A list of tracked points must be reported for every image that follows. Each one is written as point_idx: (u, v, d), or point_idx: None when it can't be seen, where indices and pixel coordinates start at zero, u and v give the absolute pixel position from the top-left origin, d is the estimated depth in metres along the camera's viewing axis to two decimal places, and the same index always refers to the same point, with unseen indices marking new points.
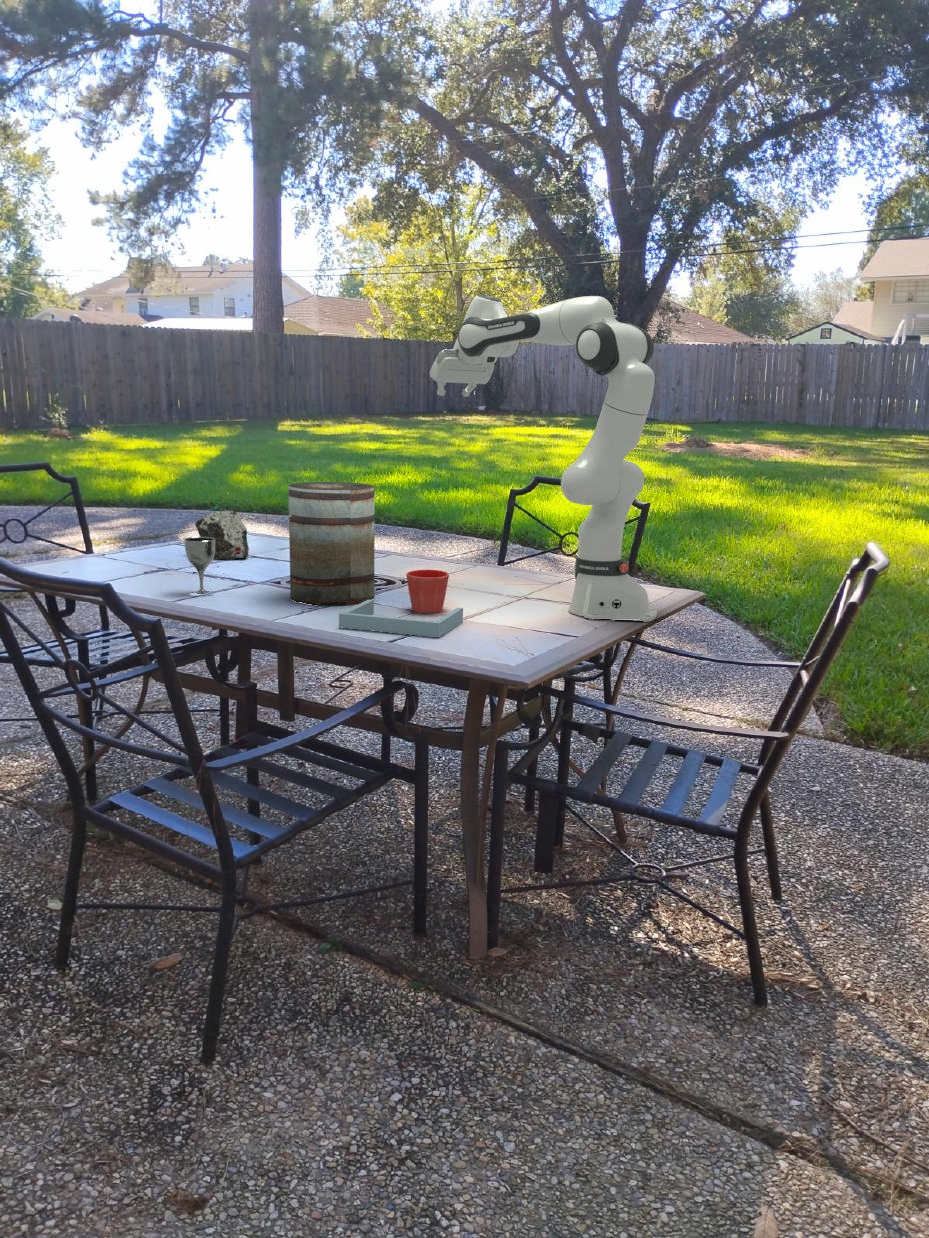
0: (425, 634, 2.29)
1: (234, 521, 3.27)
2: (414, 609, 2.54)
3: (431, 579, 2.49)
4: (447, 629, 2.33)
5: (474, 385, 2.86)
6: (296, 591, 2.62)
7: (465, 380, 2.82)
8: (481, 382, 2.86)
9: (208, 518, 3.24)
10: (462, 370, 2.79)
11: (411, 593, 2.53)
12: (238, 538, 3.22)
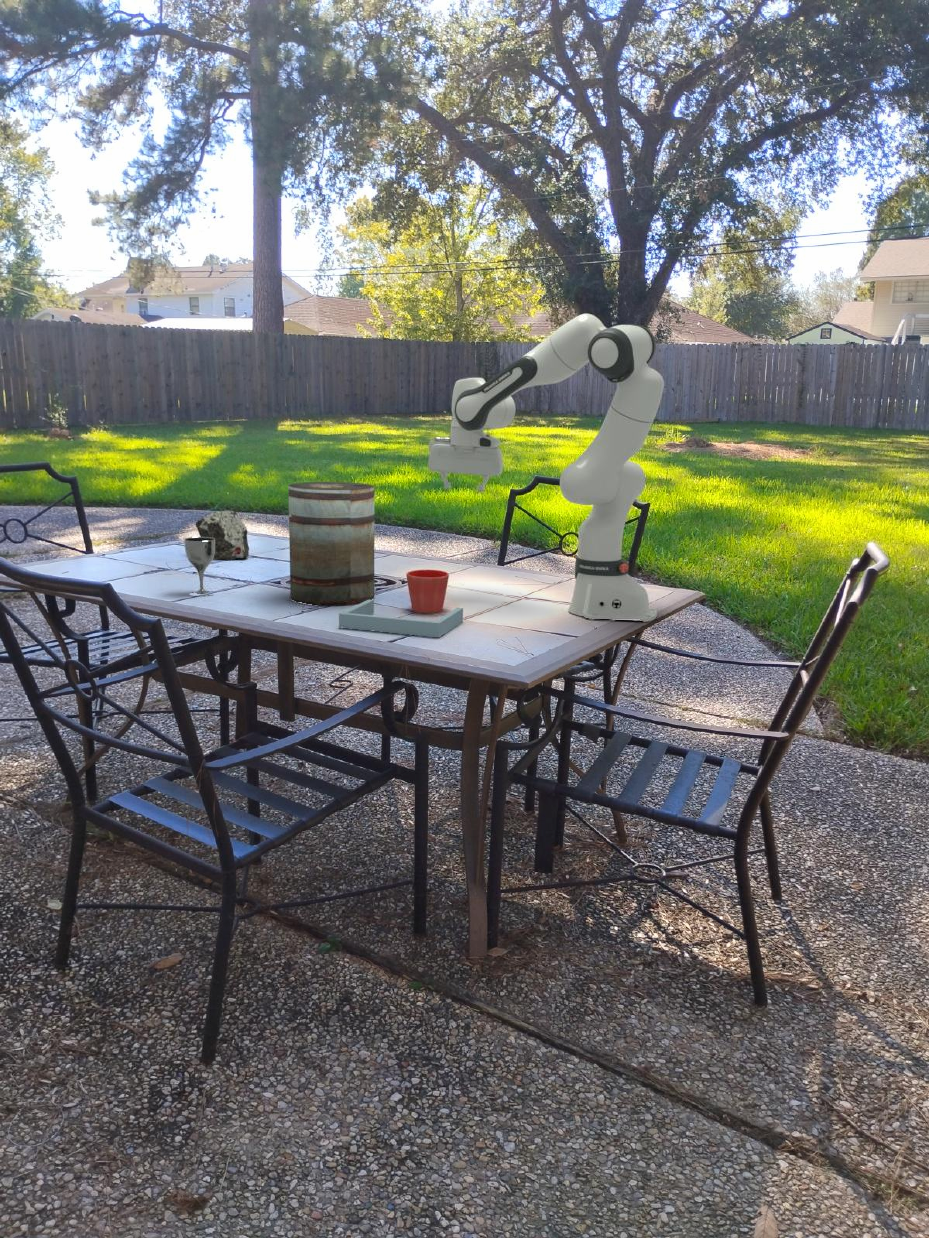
0: (425, 634, 2.29)
1: (234, 521, 3.27)
2: (414, 609, 2.54)
3: (431, 579, 2.49)
4: (447, 629, 2.33)
5: (484, 477, 2.68)
6: (296, 591, 2.62)
7: (466, 470, 2.68)
8: (489, 473, 2.67)
9: (208, 518, 3.24)
10: (459, 458, 2.68)
11: (411, 593, 2.53)
12: (238, 538, 3.22)
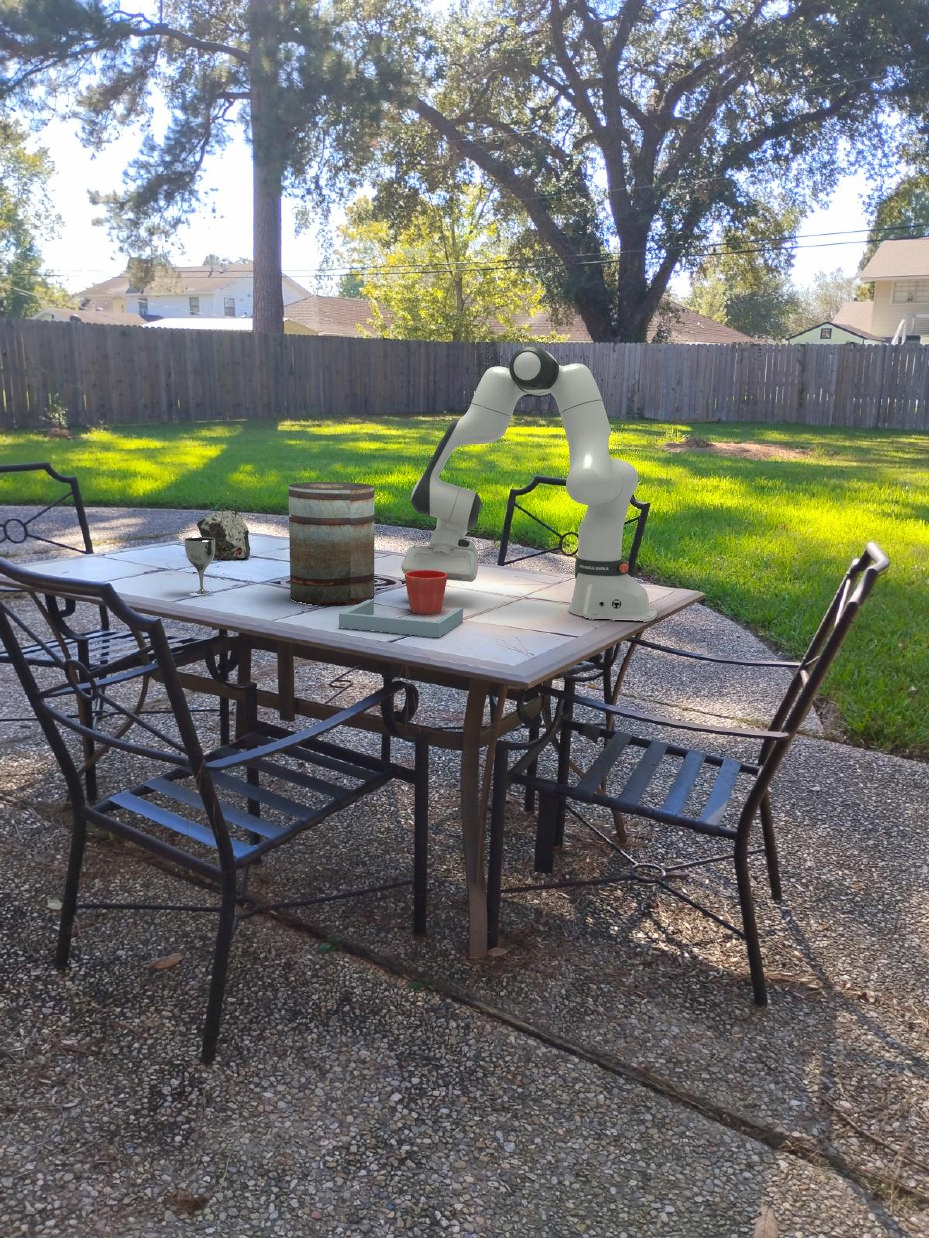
0: (425, 634, 2.29)
1: (236, 521, 3.26)
2: (413, 610, 2.53)
3: (430, 580, 2.48)
4: (447, 629, 2.33)
5: None
6: (296, 591, 2.62)
7: (439, 568, 2.60)
8: (462, 572, 2.58)
9: (210, 518, 3.23)
10: (435, 559, 2.63)
11: (410, 594, 2.52)
12: (240, 538, 3.22)
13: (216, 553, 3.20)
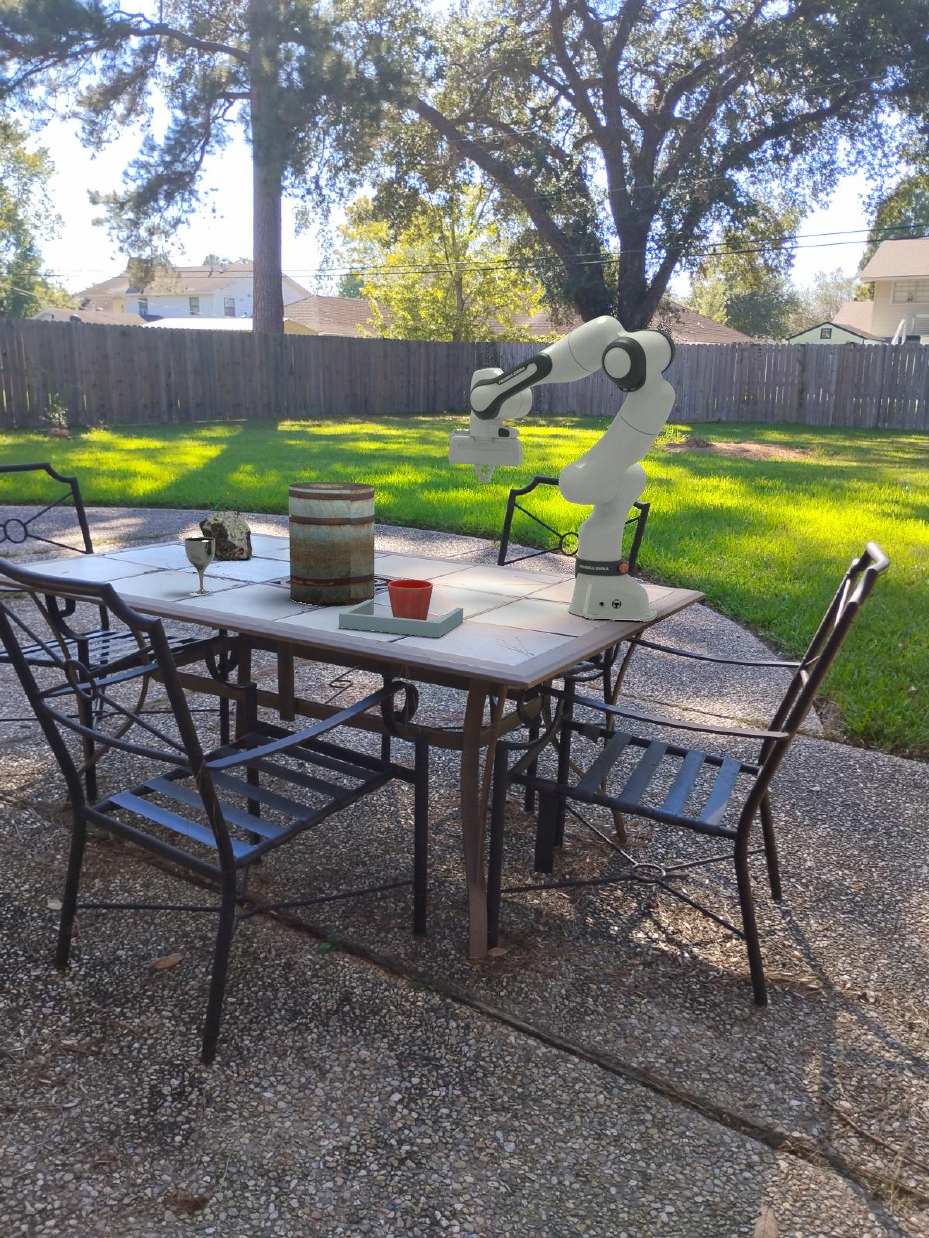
0: (425, 634, 2.29)
1: (238, 521, 3.26)
2: None
3: (419, 590, 2.36)
4: (447, 629, 2.33)
5: (490, 467, 2.68)
6: (296, 591, 2.62)
7: (486, 461, 2.67)
8: (509, 463, 2.65)
9: (212, 518, 3.23)
10: (479, 449, 2.67)
11: (395, 605, 2.38)
12: (242, 539, 3.21)
13: (218, 553, 3.20)
